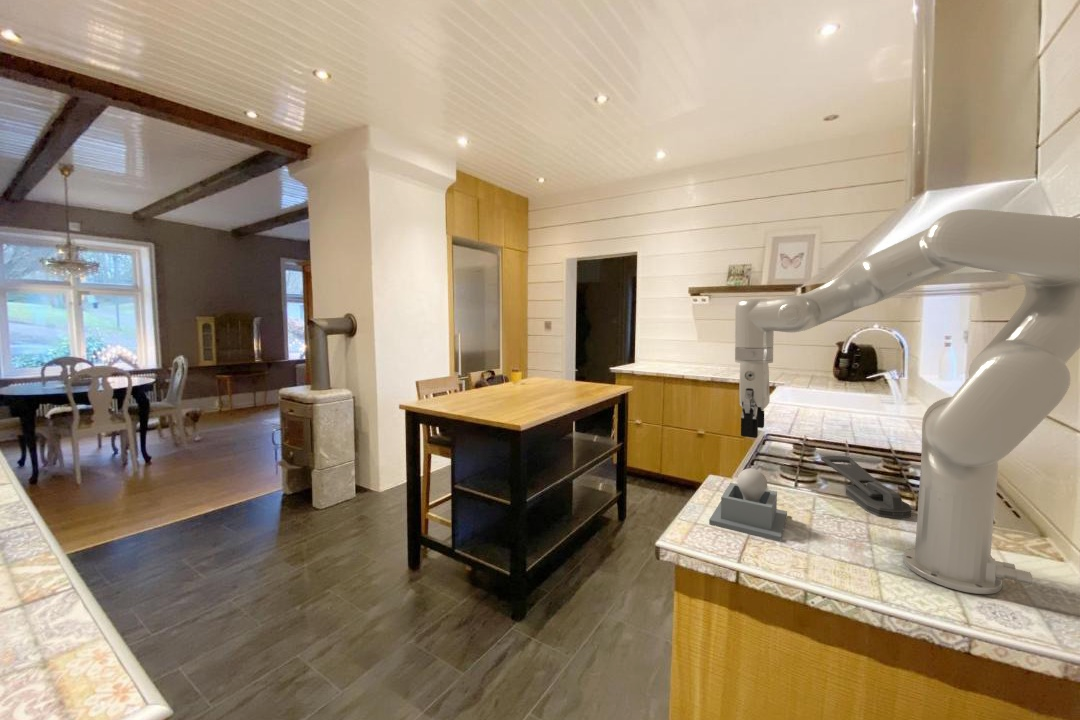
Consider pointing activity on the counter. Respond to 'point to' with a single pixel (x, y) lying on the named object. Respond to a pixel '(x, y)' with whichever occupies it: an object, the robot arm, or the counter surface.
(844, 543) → the counter surface
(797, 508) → the counter surface
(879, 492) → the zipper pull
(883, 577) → the counter surface
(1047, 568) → the counter surface
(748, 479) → the lightbulb
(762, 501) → the socket holder
